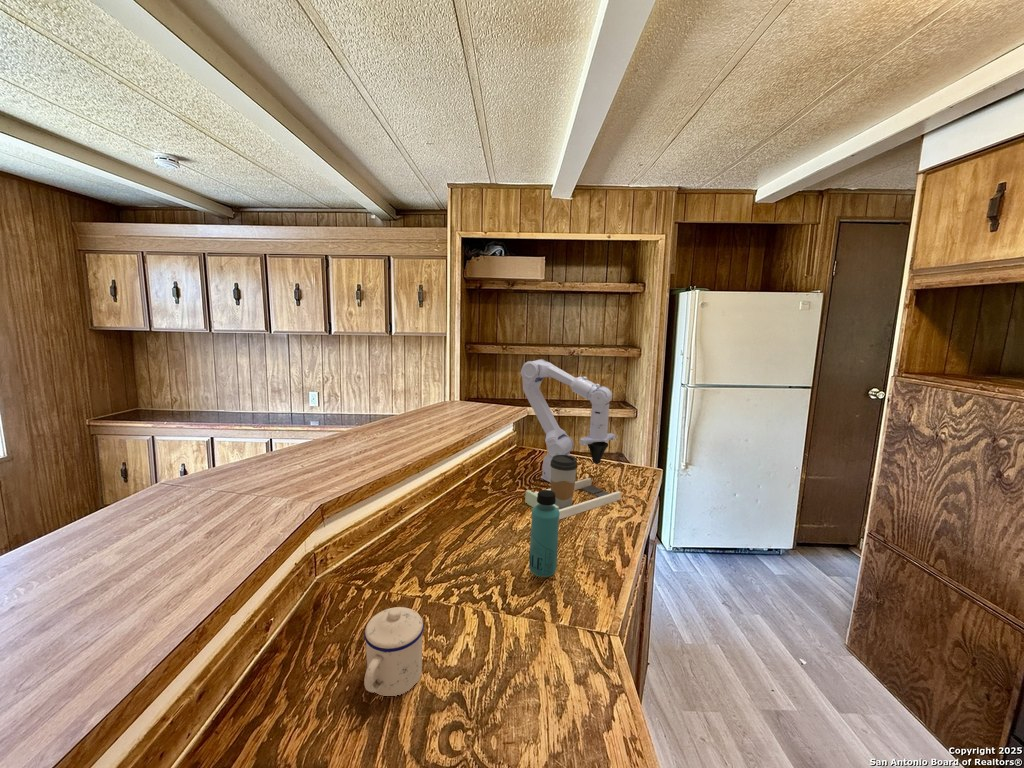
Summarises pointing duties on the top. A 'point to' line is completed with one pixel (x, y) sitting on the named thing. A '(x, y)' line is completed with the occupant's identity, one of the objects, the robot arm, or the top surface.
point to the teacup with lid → (393, 651)
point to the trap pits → (595, 491)
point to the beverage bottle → (544, 535)
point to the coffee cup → (563, 479)
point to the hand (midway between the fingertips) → (596, 462)
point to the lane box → (587, 504)
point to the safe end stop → (533, 499)
